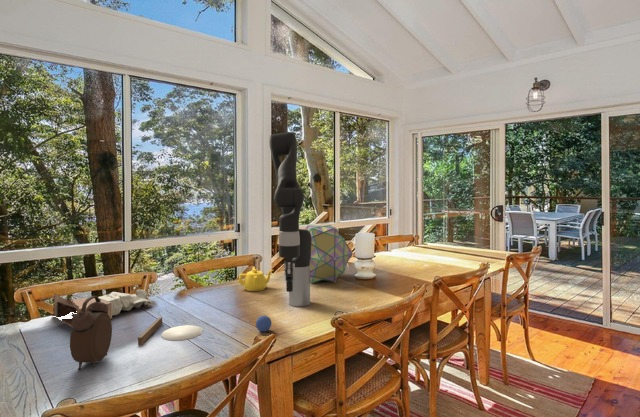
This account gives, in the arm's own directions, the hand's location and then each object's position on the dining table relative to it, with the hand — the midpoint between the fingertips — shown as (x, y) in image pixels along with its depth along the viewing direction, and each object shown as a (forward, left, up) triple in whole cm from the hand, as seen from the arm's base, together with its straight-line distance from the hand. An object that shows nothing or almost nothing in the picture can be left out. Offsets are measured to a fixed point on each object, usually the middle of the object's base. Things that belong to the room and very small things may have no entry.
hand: (289, 291), depth 144 cm
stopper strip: (+49, 0, -15) cm, 52 cm away
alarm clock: (+58, +23, -15) cm, 65 cm away
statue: (+75, -20, -15) cm, 79 cm away
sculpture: (-16, -74, -15) cm, 77 cm away
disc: (+38, 0, -15) cm, 41 cm away
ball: (+9, 0, -12) cm, 15 cm away
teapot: (+18, -59, -15) cm, 64 cm away
